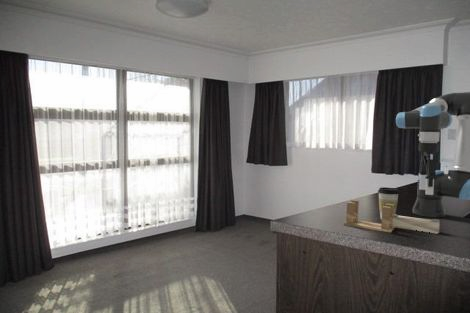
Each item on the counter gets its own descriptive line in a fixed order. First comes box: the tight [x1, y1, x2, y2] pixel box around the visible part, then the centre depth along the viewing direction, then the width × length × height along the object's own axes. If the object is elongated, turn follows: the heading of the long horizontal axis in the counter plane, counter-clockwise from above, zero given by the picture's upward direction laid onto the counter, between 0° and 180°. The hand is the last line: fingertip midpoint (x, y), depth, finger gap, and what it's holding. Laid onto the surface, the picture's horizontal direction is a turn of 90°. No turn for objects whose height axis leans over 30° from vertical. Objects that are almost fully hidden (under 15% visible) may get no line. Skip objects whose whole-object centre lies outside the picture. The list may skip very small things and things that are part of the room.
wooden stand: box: [343, 199, 396, 233], centre depth 164 cm, size 9×20×10 cm, turn 57°
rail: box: [392, 213, 440, 235], centre depth 162 cm, size 4×20×5 cm, turn 58°
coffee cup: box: [377, 186, 400, 220], centre depth 179 cm, size 10×10×15 cm
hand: (425, 192), depth 156 cm, fingers open, 13 cm apart
